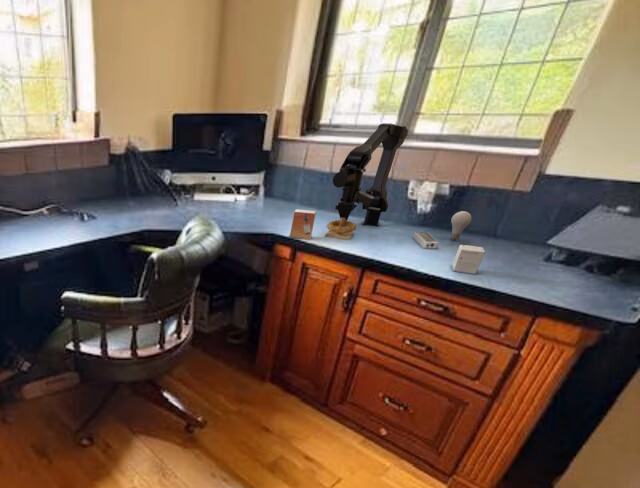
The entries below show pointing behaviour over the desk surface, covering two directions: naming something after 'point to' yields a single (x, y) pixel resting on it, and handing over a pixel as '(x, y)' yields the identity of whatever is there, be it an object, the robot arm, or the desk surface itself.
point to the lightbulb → (459, 223)
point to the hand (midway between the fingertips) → (343, 223)
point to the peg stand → (340, 235)
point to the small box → (302, 224)
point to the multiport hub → (425, 240)
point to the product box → (468, 259)
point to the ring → (336, 228)
